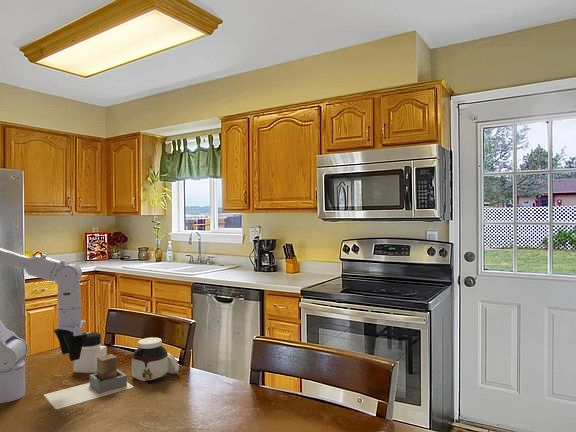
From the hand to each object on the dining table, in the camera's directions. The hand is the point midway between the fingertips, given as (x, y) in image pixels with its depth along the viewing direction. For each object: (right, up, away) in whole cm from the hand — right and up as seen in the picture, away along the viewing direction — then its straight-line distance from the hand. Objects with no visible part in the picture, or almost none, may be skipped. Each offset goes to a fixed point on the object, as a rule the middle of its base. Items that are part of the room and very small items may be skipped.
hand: (70, 356), depth 118 cm
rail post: (+9, -9, +3) cm, 13 cm away
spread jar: (+20, -11, +12) cm, 26 cm away
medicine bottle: (-2, -11, +17) cm, 20 cm away
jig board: (+5, -10, 0) cm, 12 cm away
